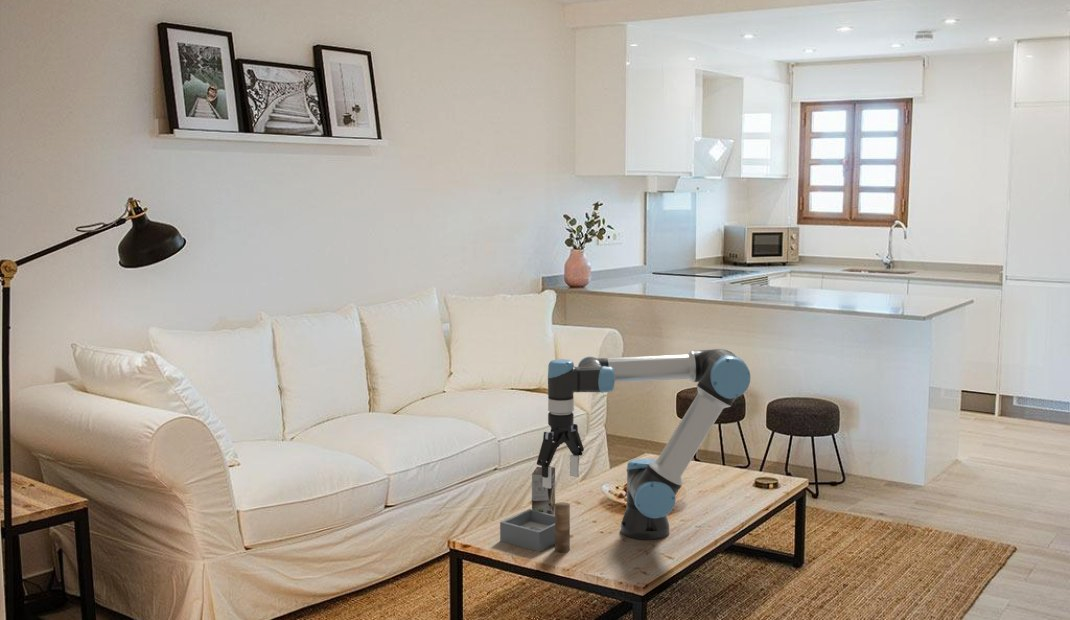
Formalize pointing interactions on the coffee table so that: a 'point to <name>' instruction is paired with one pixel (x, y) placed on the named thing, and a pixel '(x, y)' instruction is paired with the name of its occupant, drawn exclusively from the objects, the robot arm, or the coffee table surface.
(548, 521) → the bin
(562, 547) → the peg
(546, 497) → the coffee box
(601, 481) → the coffee table surface
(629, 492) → the robot arm
